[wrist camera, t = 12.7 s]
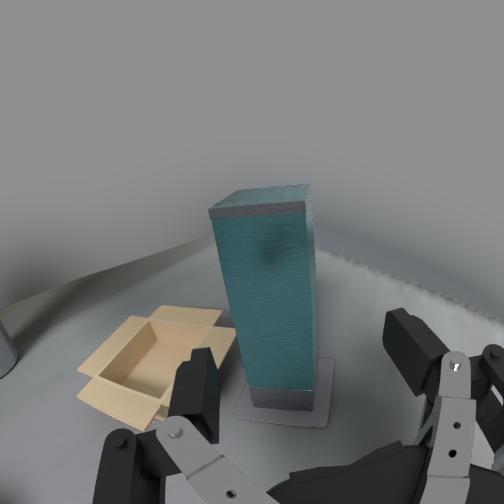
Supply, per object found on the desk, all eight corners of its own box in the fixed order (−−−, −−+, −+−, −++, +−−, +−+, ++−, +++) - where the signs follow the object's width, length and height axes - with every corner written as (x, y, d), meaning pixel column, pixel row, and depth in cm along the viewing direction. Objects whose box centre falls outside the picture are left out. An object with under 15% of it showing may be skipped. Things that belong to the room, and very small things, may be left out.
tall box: (253, 407, 20) (208, 209, 14) (266, 366, 25) (236, 190, 19) (312, 411, 19) (305, 200, 13) (318, 368, 24) (309, 183, 17)
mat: (233, 417, 20) (232, 414, 20) (257, 357, 27) (257, 354, 27) (326, 427, 18) (327, 425, 17) (334, 361, 25) (334, 358, 24)
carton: (77, 407, 21) (60, 386, 19) (152, 323, 35) (143, 303, 34) (192, 461, 16) (176, 443, 15) (252, 335, 31) (247, 311, 29)
